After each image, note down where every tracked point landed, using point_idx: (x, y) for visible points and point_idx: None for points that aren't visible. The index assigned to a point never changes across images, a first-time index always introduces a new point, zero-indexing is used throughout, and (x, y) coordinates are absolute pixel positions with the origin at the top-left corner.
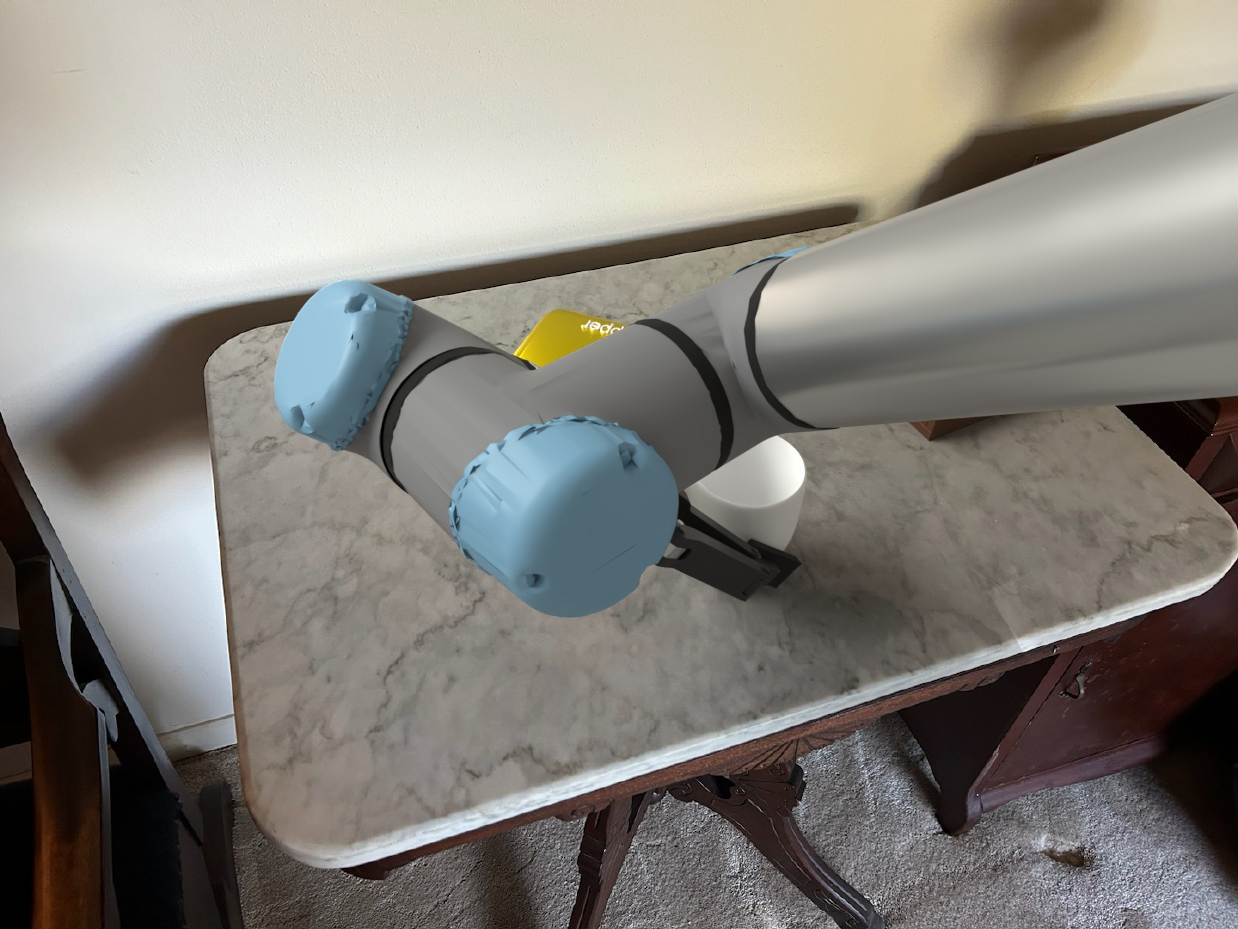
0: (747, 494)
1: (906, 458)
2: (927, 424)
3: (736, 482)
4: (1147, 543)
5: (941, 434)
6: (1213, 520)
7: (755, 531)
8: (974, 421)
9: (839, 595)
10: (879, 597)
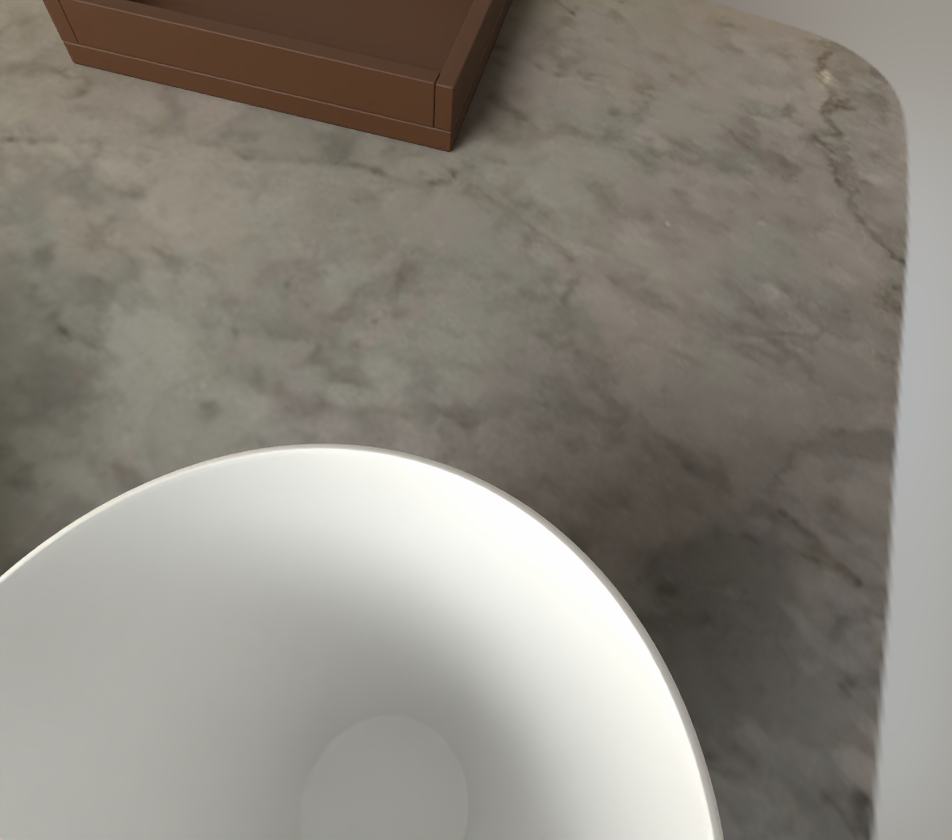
0: (279, 643)
1: (450, 207)
2: (435, 118)
3: (214, 663)
4: (829, 124)
5: (459, 127)
6: (836, 48)
7: None
8: (480, 76)
9: (636, 611)
10: (692, 539)
